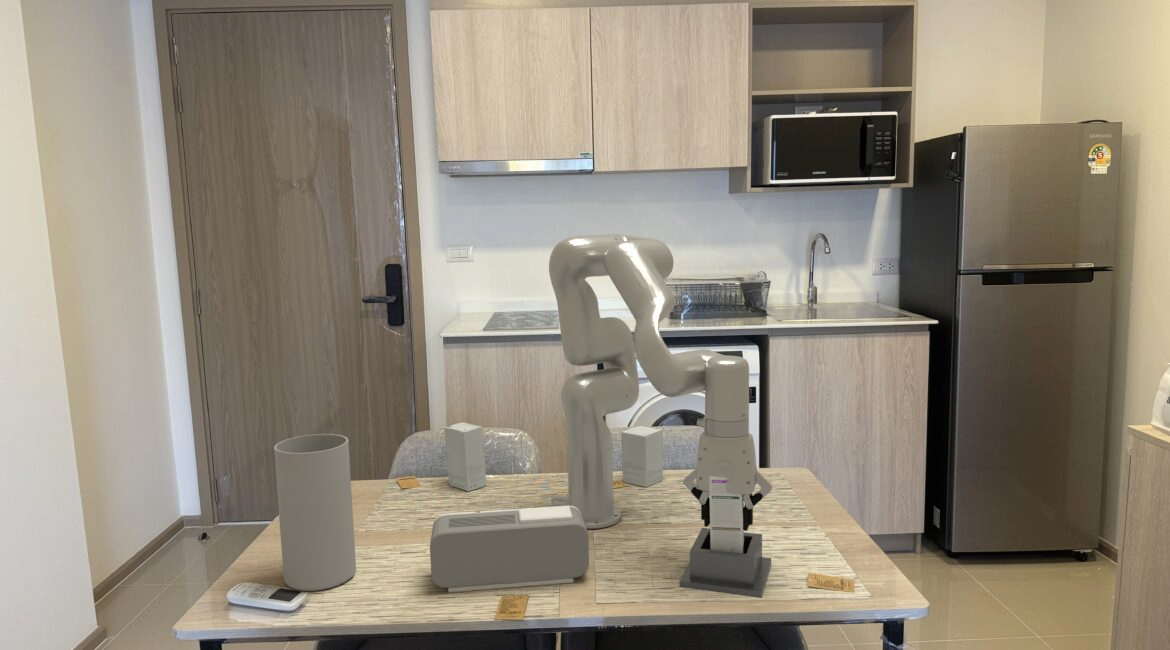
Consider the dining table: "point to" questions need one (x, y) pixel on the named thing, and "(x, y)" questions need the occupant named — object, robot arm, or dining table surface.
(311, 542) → the cylinder vase
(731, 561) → the socket
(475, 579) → the grey rounded block
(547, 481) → the dining table surface
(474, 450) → the skincare box
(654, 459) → the supplement box
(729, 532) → the syrup box
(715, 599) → the dining table surface
